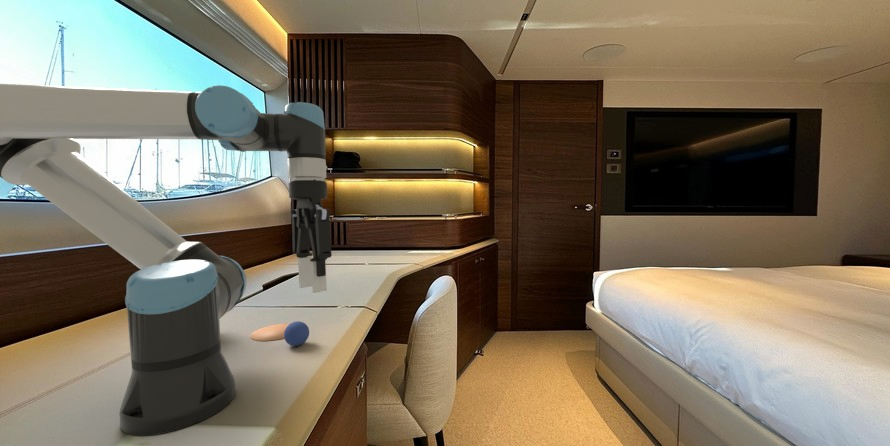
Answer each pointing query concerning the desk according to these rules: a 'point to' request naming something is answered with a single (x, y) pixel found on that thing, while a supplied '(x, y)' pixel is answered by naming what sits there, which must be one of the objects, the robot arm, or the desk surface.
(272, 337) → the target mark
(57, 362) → the desk surface
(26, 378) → the desk surface
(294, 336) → the ball
